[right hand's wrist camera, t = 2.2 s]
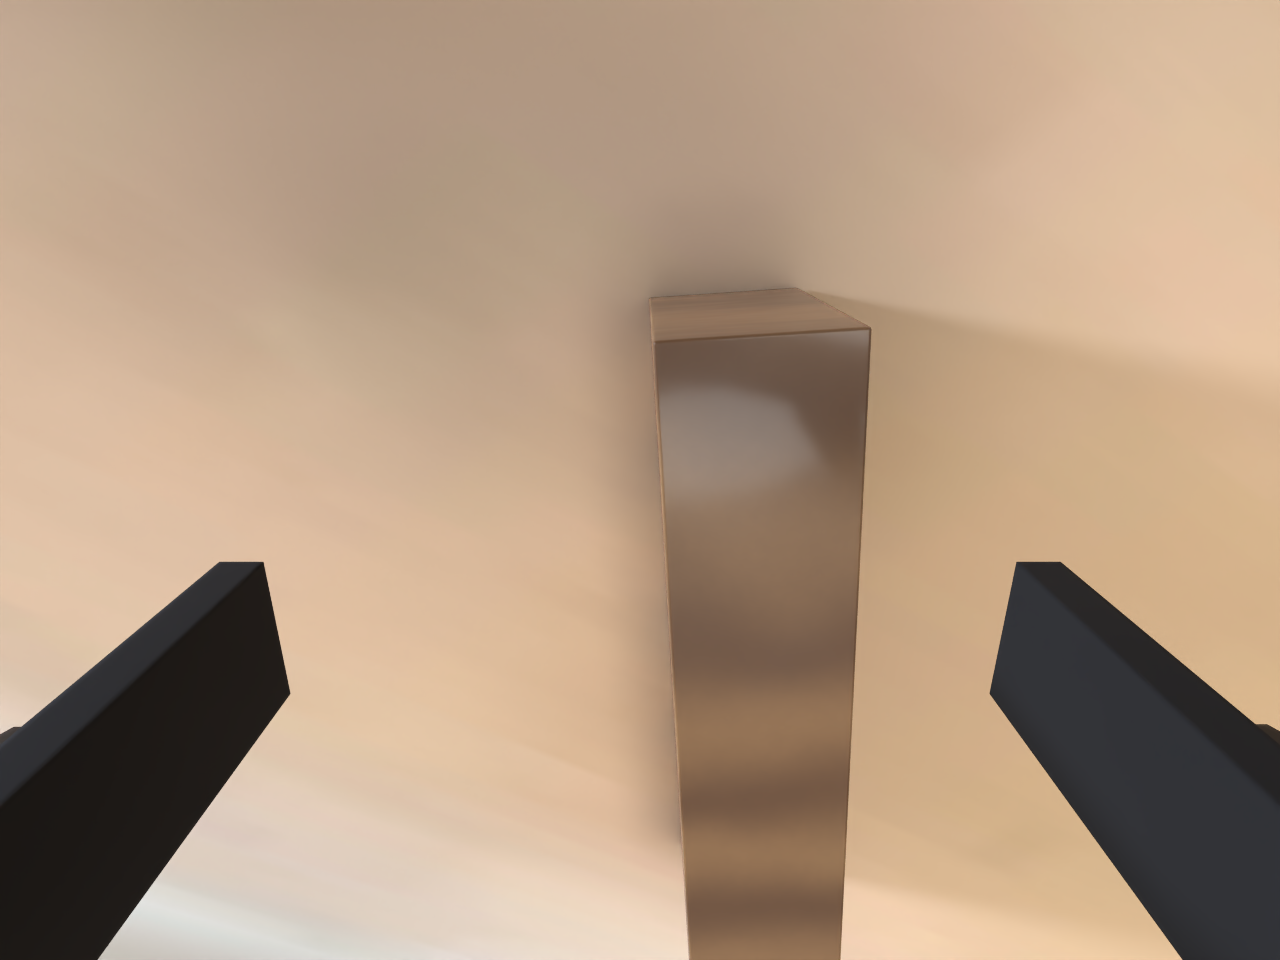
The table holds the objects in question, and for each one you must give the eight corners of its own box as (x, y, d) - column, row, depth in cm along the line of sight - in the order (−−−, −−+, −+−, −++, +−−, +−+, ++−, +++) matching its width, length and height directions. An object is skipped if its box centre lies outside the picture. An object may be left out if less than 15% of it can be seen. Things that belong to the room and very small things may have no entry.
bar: (648, 297, 25) (652, 341, 17) (798, 287, 25) (872, 326, 17) (681, 846, 34) (694, 1041, 26) (791, 841, 34) (837, 1035, 26)
